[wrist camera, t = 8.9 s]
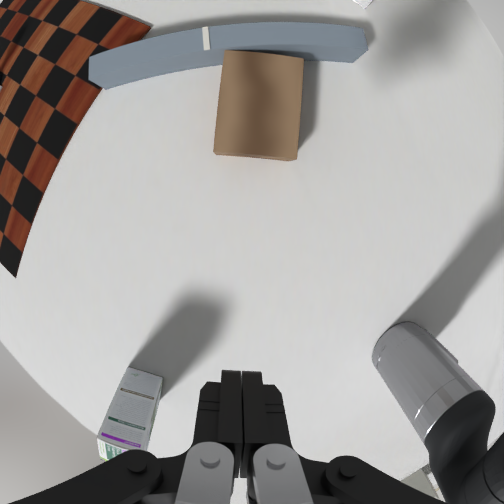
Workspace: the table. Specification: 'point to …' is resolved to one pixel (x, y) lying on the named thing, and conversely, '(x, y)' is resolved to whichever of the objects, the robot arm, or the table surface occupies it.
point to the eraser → (363, 2)
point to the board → (224, 48)
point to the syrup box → (130, 414)
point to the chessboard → (45, 98)
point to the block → (259, 106)
